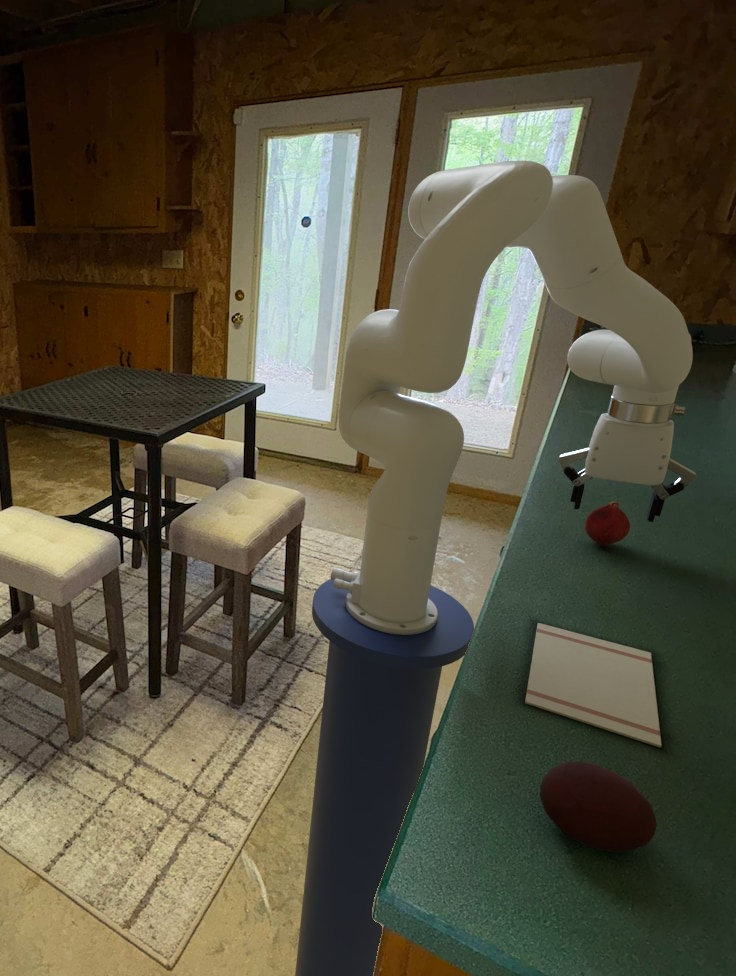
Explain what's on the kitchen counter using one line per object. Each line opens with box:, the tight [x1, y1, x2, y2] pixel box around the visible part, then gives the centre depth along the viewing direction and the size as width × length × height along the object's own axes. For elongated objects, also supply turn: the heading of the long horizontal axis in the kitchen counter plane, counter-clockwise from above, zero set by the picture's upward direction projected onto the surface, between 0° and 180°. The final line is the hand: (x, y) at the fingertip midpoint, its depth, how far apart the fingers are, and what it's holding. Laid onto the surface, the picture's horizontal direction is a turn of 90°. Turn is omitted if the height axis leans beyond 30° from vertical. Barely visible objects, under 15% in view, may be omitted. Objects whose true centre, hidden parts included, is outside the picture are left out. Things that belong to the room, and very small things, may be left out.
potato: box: [539, 761, 658, 853], centre depth 54 cm, size 7×8×6 cm
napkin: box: [524, 622, 663, 749], centre depth 74 cm, size 12×18×1 cm, turn 145°
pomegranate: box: [584, 500, 631, 547], centre depth 102 cm, size 6×6×8 cm
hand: (612, 512), depth 101 cm, fingers open, 9 cm apart
